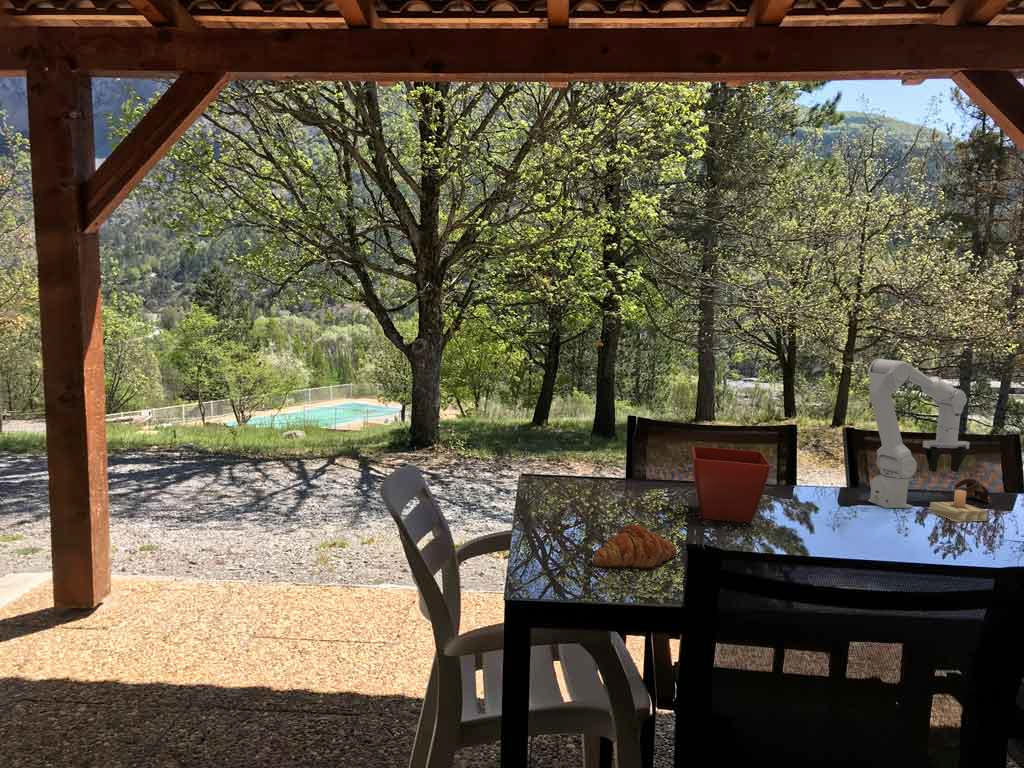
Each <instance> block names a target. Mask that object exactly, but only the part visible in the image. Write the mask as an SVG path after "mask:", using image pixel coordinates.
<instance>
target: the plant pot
mask: <svg viewBox="0 0 1024 768" xmlns="http://www.w3.org/2000/svg"><path fill="white" fill-rule="evenodd" d="M691 454H692V455H691V456H692V468H693V478H694V485H695V491H696V498H697V504H698V509H699V513H700V517H701V518H702V519H706V520H715V521H722V522H723V521H724V522H734V523H742V522H745V524H751V523H752V521H753V519H754V516H755V515H756V512H757V510H758V509H759V508H758V507H759V505H760V503H761V501H762V497H763V494H764V491H765V488H766V484H767V482H768V478H769V474H770V469H771V463H770V462H769V461H768V459H767V458H766V457H765V455H764V453H763V452H761V451H759V450H758V451H756V450H746V449H737V448H736V449H732V448H724V447H722V448H721V447H712V446H711V447H708V446H699V445H697V446H696V445H694V446H692V447H691ZM750 522H751V523H750Z"/></svg>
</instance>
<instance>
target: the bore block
mask: <svg viewBox="0 0 1024 768" xmlns="http://www.w3.org/2000/svg"><path fill="white" fill-rule="evenodd" d="M953 504H954V501H930V502H929V511H928V512H929V513H930V512H931V513H930V514H933V513H934V515H936V514H937V515H936V516H938V515H940V516H939V517H941V516H943V517H942V518H944V517H945V518H944V519H946V518H948V519H947V520H949V519H950V521H952V522H954V521H955V523H973V522H972V521H987V519H988V514H989V513H988V510H985V509H982V508H979V507H976V506H974V505H970V504H967V503H965V508H955V507H953Z"/></svg>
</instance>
